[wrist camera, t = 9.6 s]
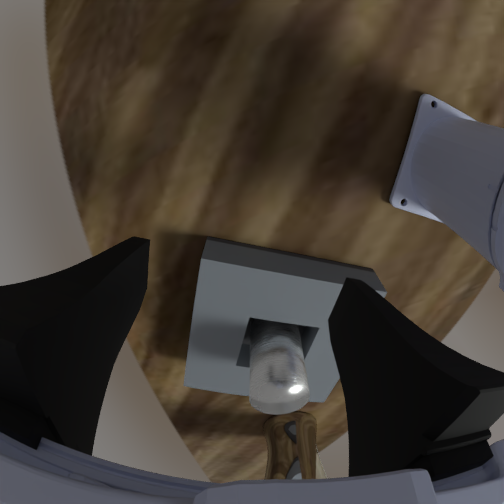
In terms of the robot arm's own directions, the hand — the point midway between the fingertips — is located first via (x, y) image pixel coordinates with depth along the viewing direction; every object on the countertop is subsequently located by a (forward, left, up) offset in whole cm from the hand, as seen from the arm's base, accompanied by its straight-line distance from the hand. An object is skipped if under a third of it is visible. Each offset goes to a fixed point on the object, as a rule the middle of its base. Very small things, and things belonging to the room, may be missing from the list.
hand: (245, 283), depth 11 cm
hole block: (-4, +9, -9) cm, 14 cm away
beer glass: (-10, +24, -10) cm, 28 cm away
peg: (-4, +9, -9) cm, 13 cm away
